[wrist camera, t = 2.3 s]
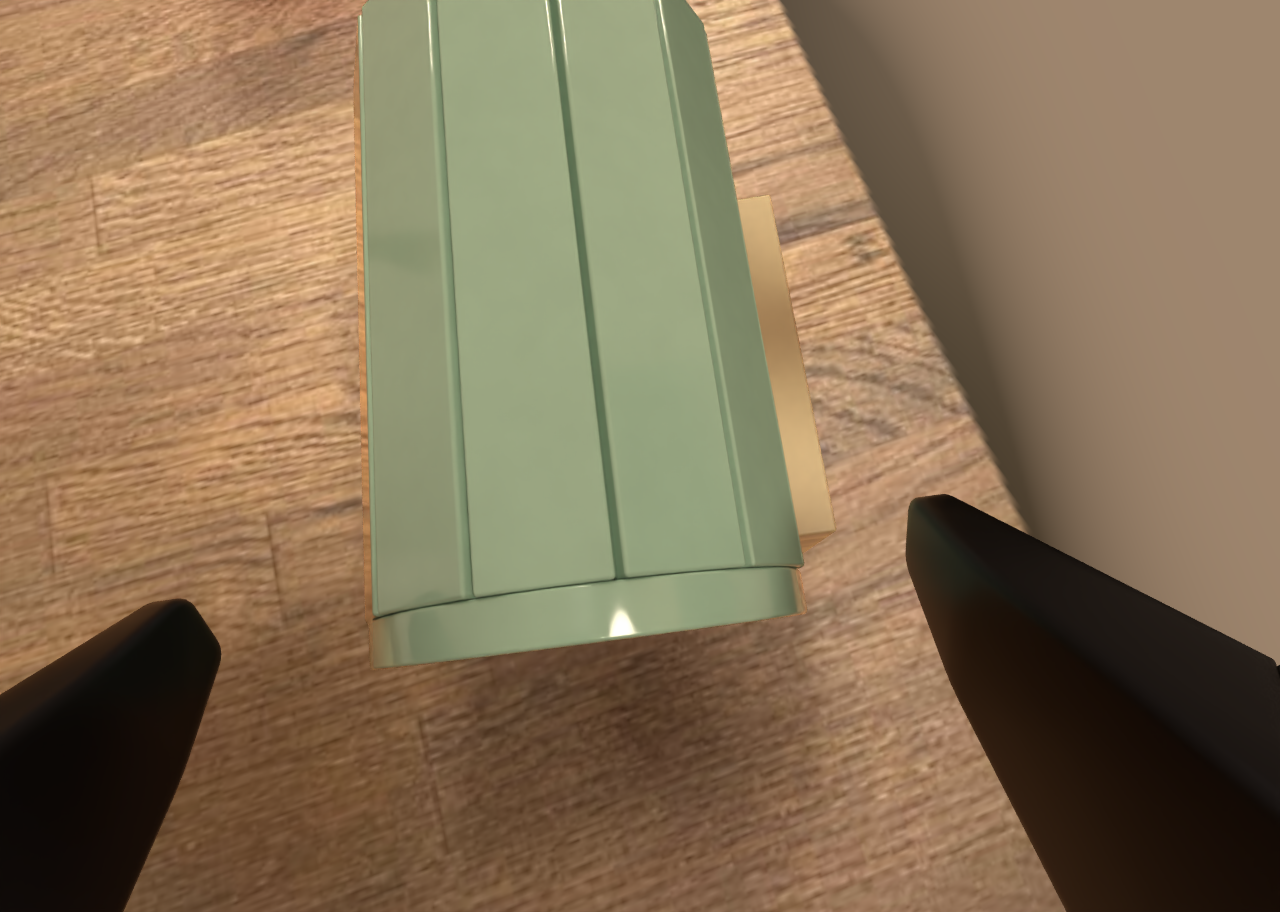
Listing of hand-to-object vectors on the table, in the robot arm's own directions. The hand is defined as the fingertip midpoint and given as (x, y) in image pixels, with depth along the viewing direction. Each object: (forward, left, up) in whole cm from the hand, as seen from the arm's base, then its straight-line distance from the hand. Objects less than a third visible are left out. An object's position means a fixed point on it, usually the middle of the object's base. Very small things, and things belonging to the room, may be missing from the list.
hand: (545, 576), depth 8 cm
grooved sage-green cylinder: (+4, -2, -3) cm, 6 cm away
